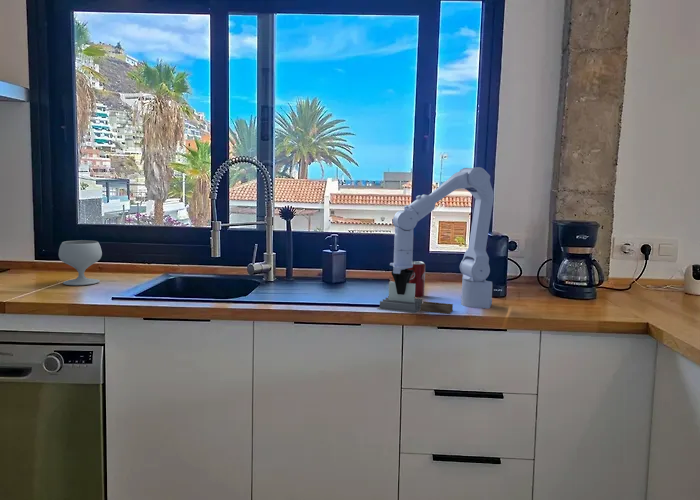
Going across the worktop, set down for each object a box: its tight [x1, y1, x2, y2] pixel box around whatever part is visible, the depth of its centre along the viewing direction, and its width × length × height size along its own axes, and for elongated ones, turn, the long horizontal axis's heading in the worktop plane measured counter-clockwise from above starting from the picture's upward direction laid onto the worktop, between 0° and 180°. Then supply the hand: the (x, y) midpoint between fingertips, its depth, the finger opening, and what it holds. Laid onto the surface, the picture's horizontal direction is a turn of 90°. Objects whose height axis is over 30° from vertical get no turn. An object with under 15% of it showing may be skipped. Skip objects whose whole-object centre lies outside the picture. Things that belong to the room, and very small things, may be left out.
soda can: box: [408, 260, 426, 298], centre depth 186 cm, size 7×7×12 cm
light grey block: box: [388, 280, 416, 302], centre depth 167 cm, size 8×1×8 cm, turn 70°
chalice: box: [58, 239, 103, 286], centre depth 195 cm, size 14×14×15 cm
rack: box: [376, 295, 423, 314], centre depth 168 cm, size 12×13×3 cm
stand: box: [419, 300, 454, 315], centre depth 164 cm, size 9×6×3 cm, turn 70°
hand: (401, 293), depth 167 cm, fingers closed
